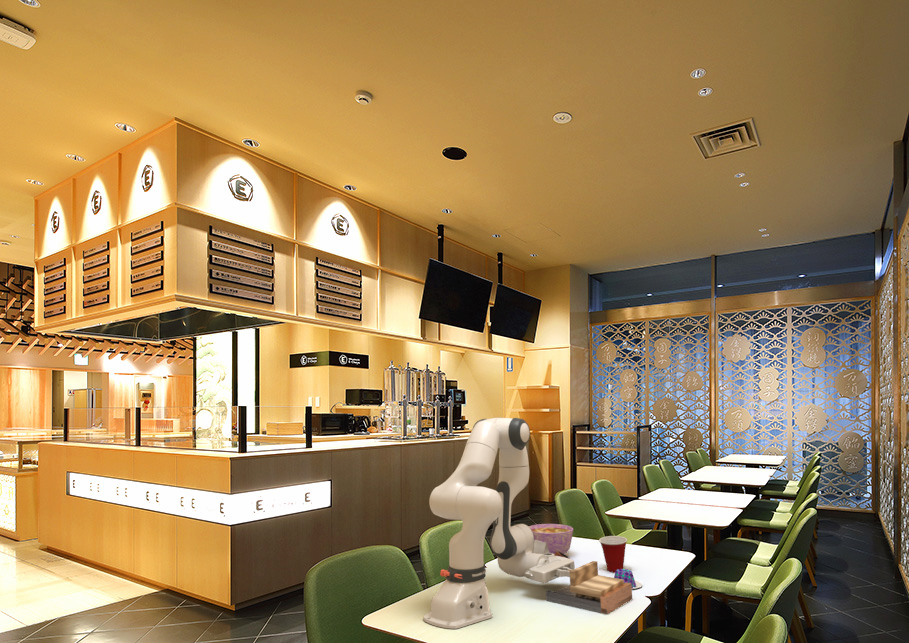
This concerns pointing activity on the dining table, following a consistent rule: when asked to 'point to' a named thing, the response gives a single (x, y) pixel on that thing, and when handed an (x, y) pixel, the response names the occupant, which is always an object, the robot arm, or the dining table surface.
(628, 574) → the pudding
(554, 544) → the bowl of food
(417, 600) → the dining table surface
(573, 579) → the tan slatted block
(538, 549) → the tea bag
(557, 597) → the track
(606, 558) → the plastic cup
